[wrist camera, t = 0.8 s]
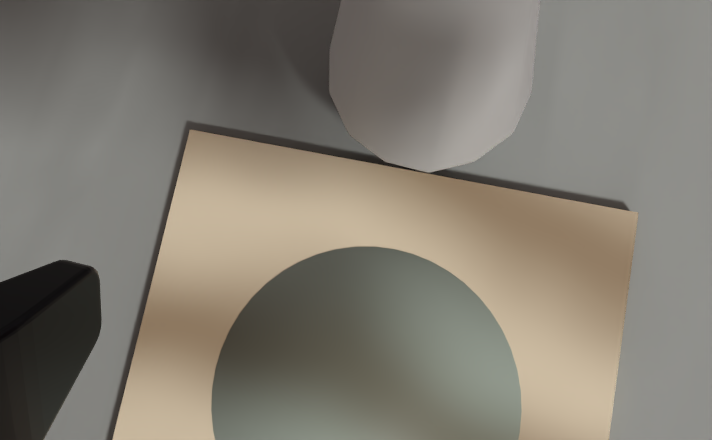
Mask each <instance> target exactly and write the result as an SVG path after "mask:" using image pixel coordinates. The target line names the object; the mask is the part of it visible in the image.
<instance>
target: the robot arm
mask: <svg viewBox="0 0 712 440" xmlns="http://www.w3.org/2000/svg"><path fill="white" fill-rule="evenodd" d="M100 329H101V301H100V280H99V275H98V272H97V271H96V269H94V268H93V267H91V266H88V265H84V264H80V263H76V262H72V261H68V260H59V261H56V262H53V263H50V264H47V265H45V266H42V267H39V268H37V269H34V270H32V271H29V272H26V273H24V274H21V275H18V276H16V277H13V278H10V279H8V280H5V281H3V282H0V440H44V438H45V436H46V434H47V432H48V431H49V429H50V427H51V425H52V423H53V421H54V419H55V418H56V416H57V414H58V412H59V410H60V408H61V407H62V405H63V403H64V401H65V399H66V397H67V395H68V394H69V392H70V390H71V388H72V386H73V384H74V382H75V381H76V379H77V377H78V375H79V373H80V371H81V370H82V368H83V366H84V364H85V362H86V360H87V358H88V357H89V355H90V353H91V351H92V349H93V347H94V345H95V343H96V341H97V339H98V336H99V333H100Z"/></svg>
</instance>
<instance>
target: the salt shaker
mask: <svg viewBox="0 0 712 440" xmlns="http://www.w3.org/2000/svg"><path fill="white" fill-rule="evenodd" d="M539 5H540V0H341V3H340V7H339V12H338V16H337V20H336V24H335V28H334V32H333V37H332V41H331V45H330V54H329V93H330V95H331V97H332V99H333V101H334V104H335V106H336V108H337V110H338V112H339V114H340V116H341V119H342V121H343V123H344V125H345V127H346V129H347V131H348V133H349V134H350V136H351V137H353V138H354V139H355V140H357V141H358V142H359V143H361V144H362V145H363V146H365V147H366V148H367V149H369V150H370V151H371V152H373V153H374V154H375V155H377V156H378V157H379V158H381V159H382V160H383V161H385V162H387V163H391V164H395V165H399V166H403V167H407V168H411V169H415V170H419V171H423V172H427V173H430V172H434V171H439V170H443V169H447V168H451V167H455V166H459V165H464V164H468V163H472V162H474V161H476V160H477V159H479V158H480V157H482V156H483V155H484V154H486V153H487V152H488V151H490V150H491V149H492V148H494V147H495V146H496V145H498V144H499V143H501V142H502V141H503V140H505V139H506V138H507V137H509V136H510V135H511V134H513V133H514V130H515V128H516V126H517V124H518V122H519V119H520V117H521V115H522V113H523V110H524V108H525V106H526V104H527V102H528V99H529V97H530V95H531V93H532V83H533V72H534V61H535V50H536V38H537V27H538V16H539Z"/></svg>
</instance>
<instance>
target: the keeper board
mask: <svg viewBox="0 0 712 440" xmlns="http://www.w3.org/2000/svg"><path fill="white" fill-rule="evenodd" d="M637 220H638V213H637V212H632V211H626V210H621V209H616V208H610V207H605V206H599V205H594V204H589V203H583V202H578V201H573V200H567V199H562V198H556V197H551V196H546V195H540V194H535V193H529V192H524V191H519V190H513V189H508V188H503V187H497V186H492V185H486V184H481V183H476V182H470V181H465V180H460V179H454V178H449V177H443V176H438V175H433V174H427V173H422V172H416V171H411V170H406V169H400V168H395V167H390V166H384V165H379V164H373V163H368V162H363V161H357V160H352V159H346V158H341V157H336V156H330V155H325V154H320V153H314V152H309V151H303V150H298V149H293V148H287V147H282V146H276V145H271V144H266V143H260V142H255V141H250V140H244V139H239V138H233V137H228V136H223V135H217V134H212V133H206V132H201V131H196V130H190V131H189V135H188V139H187V143H186V147H185V151H184V155H183V159H182V163H181V167H180V171H179V175H178V179H177V183H176V187H175V191H174V195H173V199H172V203H171V207H170V211H169V215H168V219H167V223H166V227H165V231H164V235H163V239H162V243H161V247H160V251H159V255H158V259H157V263H156V267H155V271H154V275H153V279H152V283H151V287H150V291H149V295H148V299H147V303H146V307H145V311H144V315H143V319H142V323H141V327H140V331H139V335H138V339H137V343H136V347H135V351H134V355H133V359H132V363H131V367H130V371H129V375H128V379H127V383H126V387H125V391H124V395H123V399H122V403H121V407H120V411H119V415H118V419H117V423H116V427H115V431H114V435H113V439H112V440H609V433H610V426H611V418H612V411H613V403H614V395H615V388H616V380H617V373H618V365H619V357H620V350H621V342H622V334H623V327H624V319H625V312H626V304H627V296H628V289H629V281H630V273H631V266H632V258H633V251H634V243H635V235H636V228H637Z"/></svg>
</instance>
